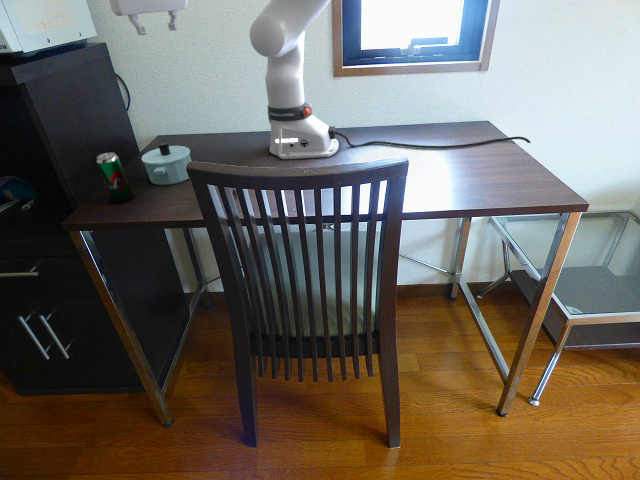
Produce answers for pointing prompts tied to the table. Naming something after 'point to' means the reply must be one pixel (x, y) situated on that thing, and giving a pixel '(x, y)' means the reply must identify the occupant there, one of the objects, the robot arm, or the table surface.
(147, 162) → the lid
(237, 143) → the table surface
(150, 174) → the pan
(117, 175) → the soda can
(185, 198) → the table surface
